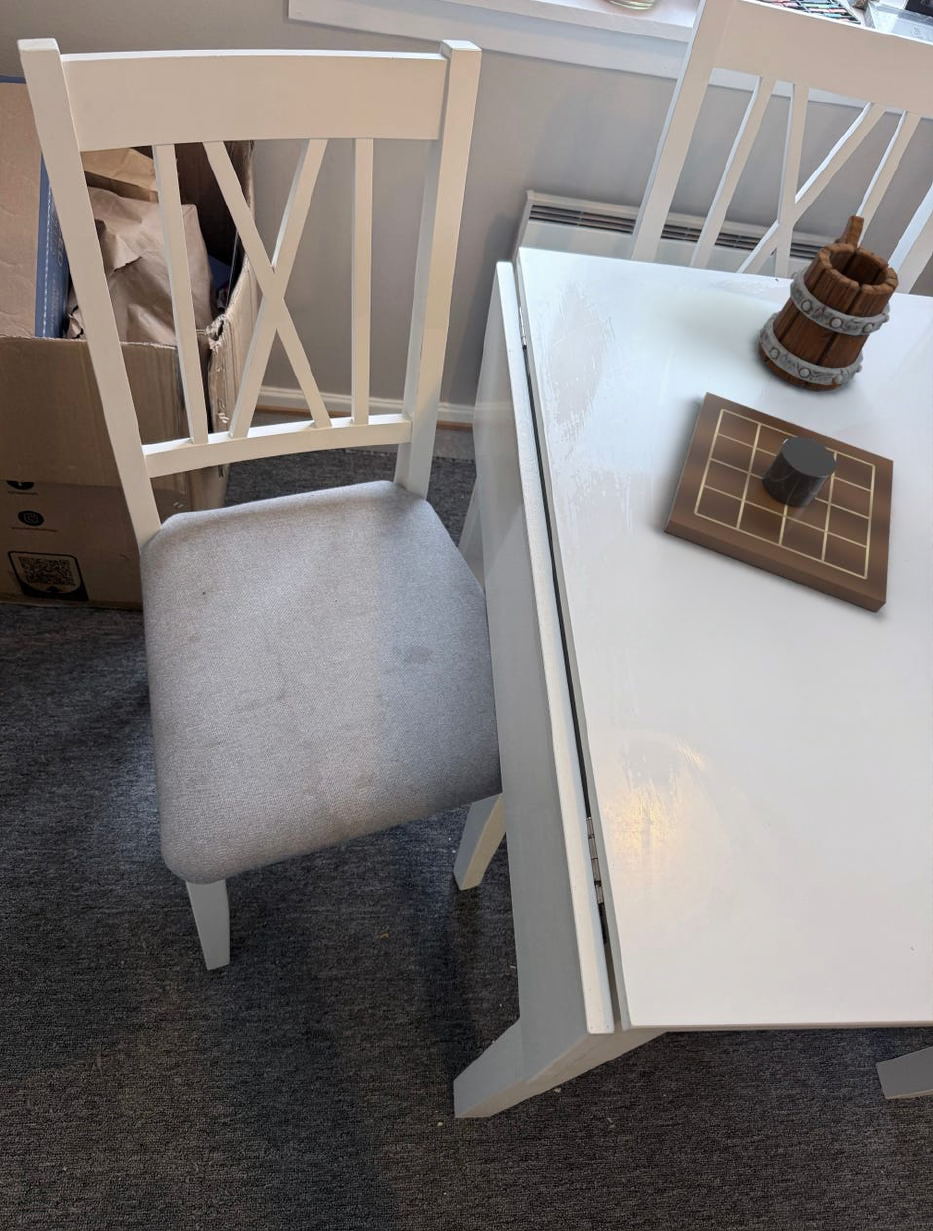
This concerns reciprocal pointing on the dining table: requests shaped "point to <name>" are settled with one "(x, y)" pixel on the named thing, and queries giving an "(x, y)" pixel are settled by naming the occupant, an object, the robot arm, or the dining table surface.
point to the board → (775, 532)
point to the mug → (829, 314)
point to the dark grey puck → (799, 471)
